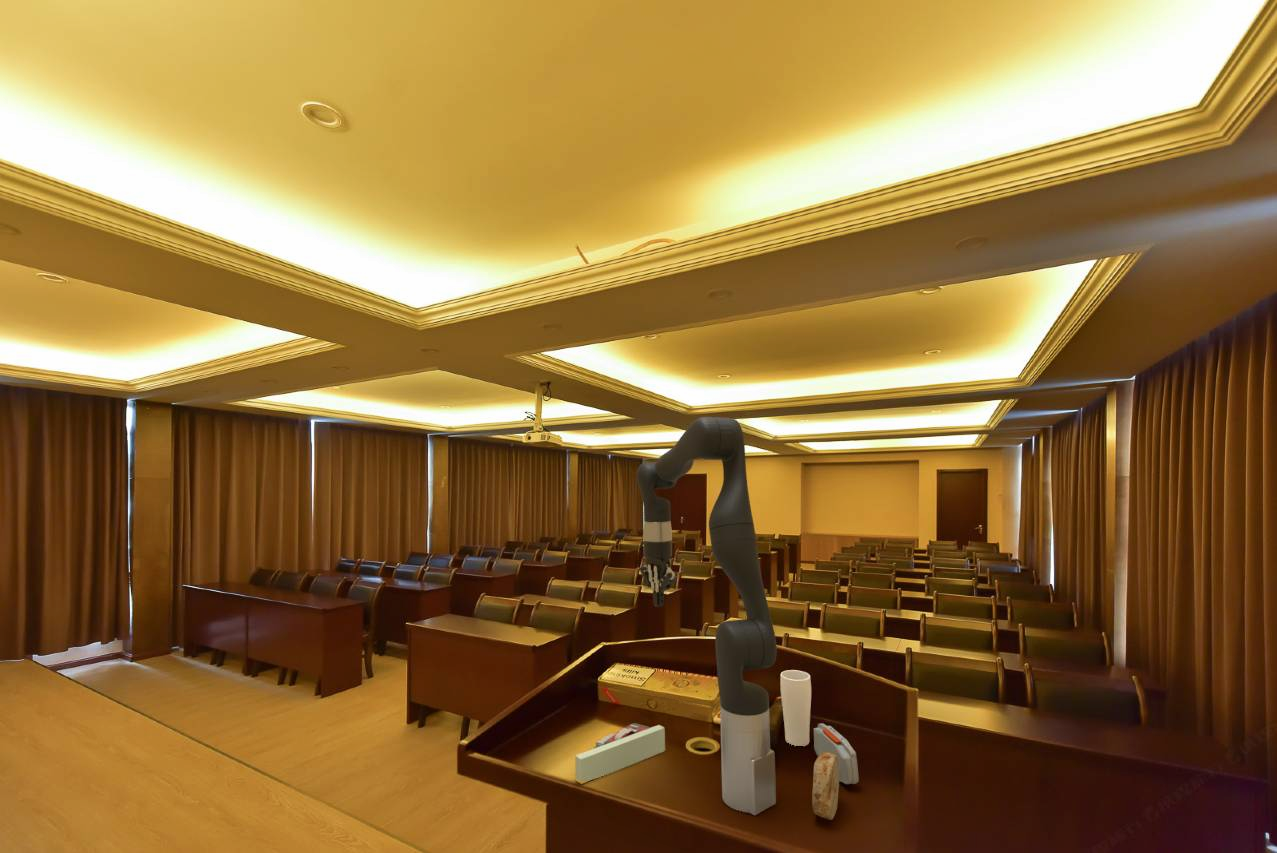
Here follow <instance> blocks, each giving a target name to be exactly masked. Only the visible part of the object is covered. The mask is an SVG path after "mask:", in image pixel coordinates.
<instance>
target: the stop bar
mask: <svg viewBox="0 0 1277 853" xmlns="http://www.w3.org/2000/svg"><path fill="white" fill-rule="evenodd" d="M665 734H666V731H665V727H664V726H662V725H660V724H658V725H655V726H652V727H650V728H649V729H646V730H643V731H641V732H638V733H635V734H633V735H630V736H627V737H624V738H622V739H619V740H616V741H613V742H611V743H608V744H605V745H603V746H600V747H597V748H595V747H594V748H592V749H589V750H587V751H584V752H581V753H578V754H576V755H575V757H574V758H575V761H574V762H575V764H574V765H575V780H576V779H577V780H579V781H581V782H583V781H589V780H592V779H595V778H598V777H600V778H602V777H601V776H603V777H605V776H607V775H610V774H612V773H615V772H618V771H619V770H622V769H624V768H628V767H629V766H631V765H635V764H637V763H639V762H641V761H644V760H647V759H648V758H651V757H654V756H656V755H659V754H662V753H663V752H666V735H665ZM609 773H610V774H609ZM606 774H607V775H606ZM604 775H605V776H604ZM598 779H599V778H598ZM595 780H596V779H595Z"/></svg>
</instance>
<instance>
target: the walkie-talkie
mask: <svg viewBox="0 0 1277 853" xmlns="http://www.w3.org/2000/svg"><path fill="white" fill-rule="evenodd" d="M649 728H651V727H650V726H648V725H644V724H640V723H637V722H633V723H630V724H628V725H627V726H625V727H623V728H622V729H620V730H619V731H618V732H616V733H611V734H610V733H609V734H607V735H605V736H603V737H602V738H601V739H600V740H597V741H596V742H595V746H594V748H597V747H600V746H603V745H605V744H608V743H611V742H613V741H616V740H619V739H622V738H624V737H627V736H630V735H633V734H635V733H638V732H641V731H643V730H646V729H649Z"/></svg>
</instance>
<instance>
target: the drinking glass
mask: <svg viewBox="0 0 1277 853" xmlns="http://www.w3.org/2000/svg"><path fill="white" fill-rule="evenodd" d="M779 678H780V697H781V705H782V706H781V708H782V707H783V708H782V715H783V722H784V725H783V726H784V737H785V738H784V739H785V742H786V743H787V744H788V743H789V745H790V744H791V745H790V746H792V745H794V746H793V747H796V746H803V747H806V746H808V745H809V743H810V724H811V707H812V706H811V703H812V682H811V680H812V679H811V675H810V674H809V673H808V672H806V671H803V670H802V671H801V670H796V669H790V670H788V669H787V670H784V671H782V672H781V673H780V677H779Z"/></svg>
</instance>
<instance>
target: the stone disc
mask: <svg viewBox="0 0 1277 853" xmlns="http://www.w3.org/2000/svg"><path fill="white" fill-rule="evenodd" d="M812 776H813V777H812V779H813V780H812V781H813V782H812V794H811V797H812V798H811V799H812V800H811V801H812V805H811V806H812V810H813V813H814V814H815V815H816V816H818V817H820V818H822V819H826V820H829V821H831V820H833V819H834V817H835V815H836V813H837V810H838V804H839V803H838V801H839V788H840V782H839V776H838V759H837V756H836V755H835V754H832V753H826V752H825V753H821V754H820V756H819V757H818V756H817V758H816V760H815V761H814V765H813V775H812Z"/></svg>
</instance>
